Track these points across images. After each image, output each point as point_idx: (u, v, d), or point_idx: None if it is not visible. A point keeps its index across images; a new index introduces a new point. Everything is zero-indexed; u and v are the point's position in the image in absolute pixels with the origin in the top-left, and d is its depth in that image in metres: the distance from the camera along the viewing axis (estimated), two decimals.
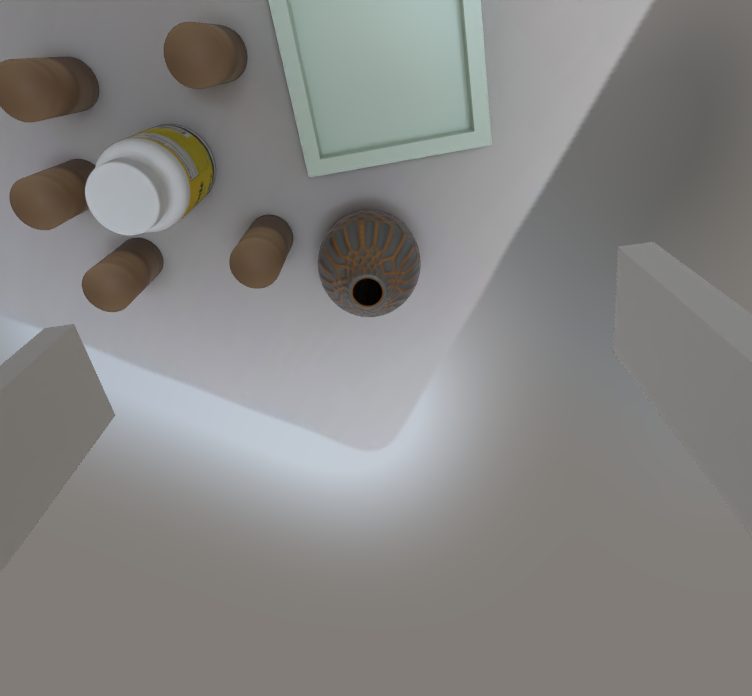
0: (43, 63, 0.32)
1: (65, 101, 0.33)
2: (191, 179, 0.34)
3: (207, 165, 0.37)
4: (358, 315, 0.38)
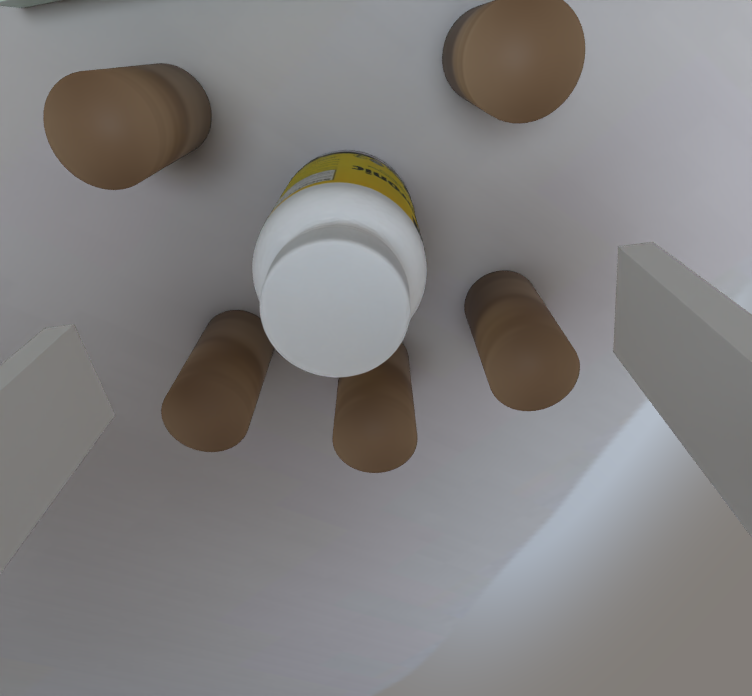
0: None
1: (229, 361, 0.22)
2: (332, 178, 0.17)
3: (334, 158, 0.20)
4: None
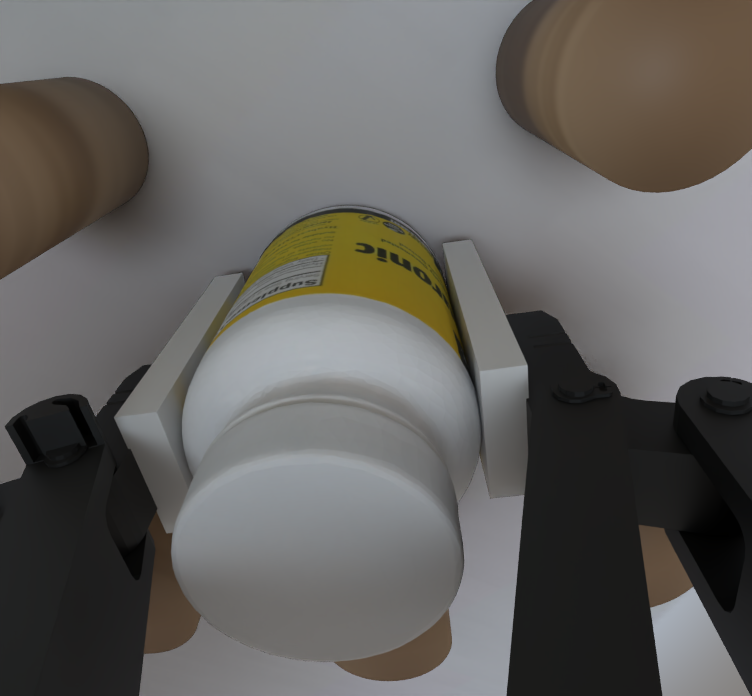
0: None
1: None
2: (319, 281, 0.10)
3: (329, 223, 0.13)
4: None
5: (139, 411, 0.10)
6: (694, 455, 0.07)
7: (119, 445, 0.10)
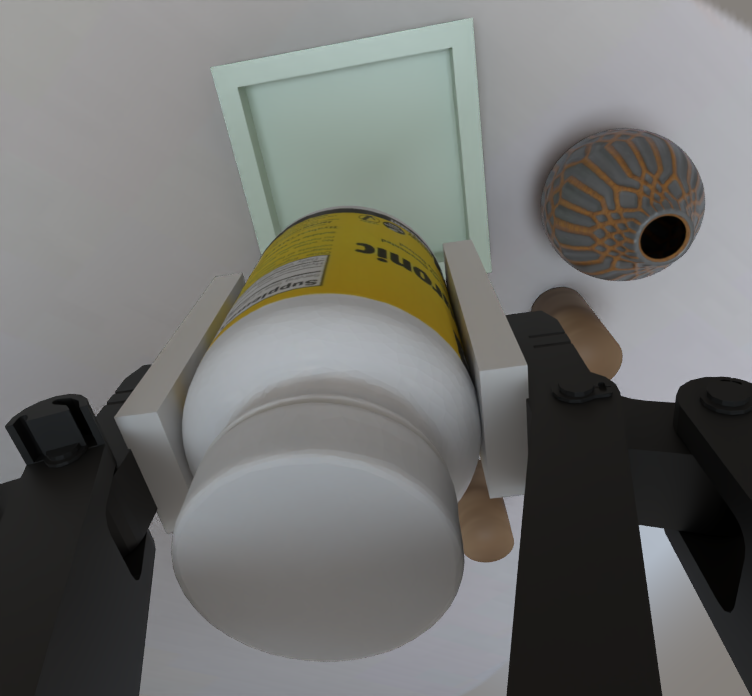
0: None
1: None
2: (319, 281, 0.10)
3: (330, 223, 0.13)
4: (695, 236, 0.25)
5: (139, 411, 0.10)
6: (694, 455, 0.07)
7: (119, 445, 0.10)
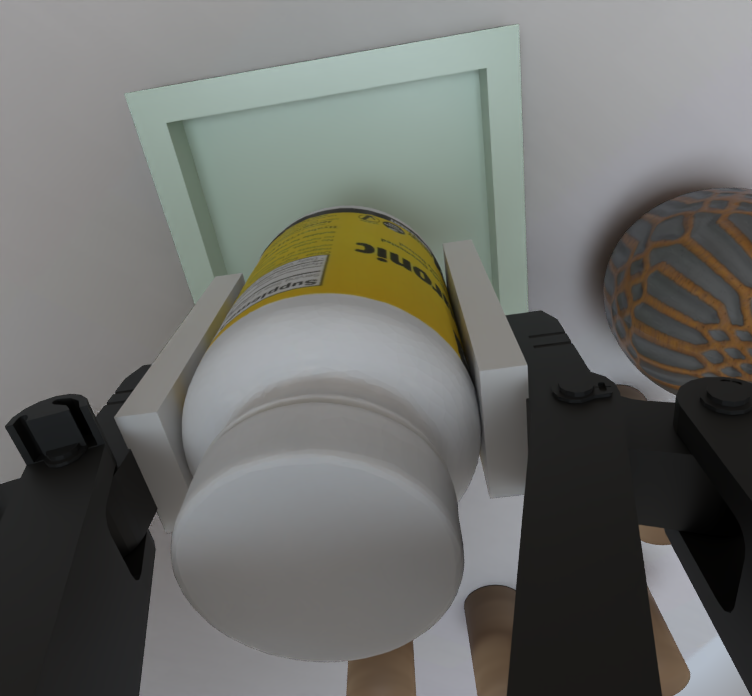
0: (352, 663, 0.27)
1: (396, 651, 0.26)
2: (319, 281, 0.10)
3: (329, 222, 0.13)
4: None
5: (139, 411, 0.10)
6: (694, 455, 0.07)
7: (119, 445, 0.10)
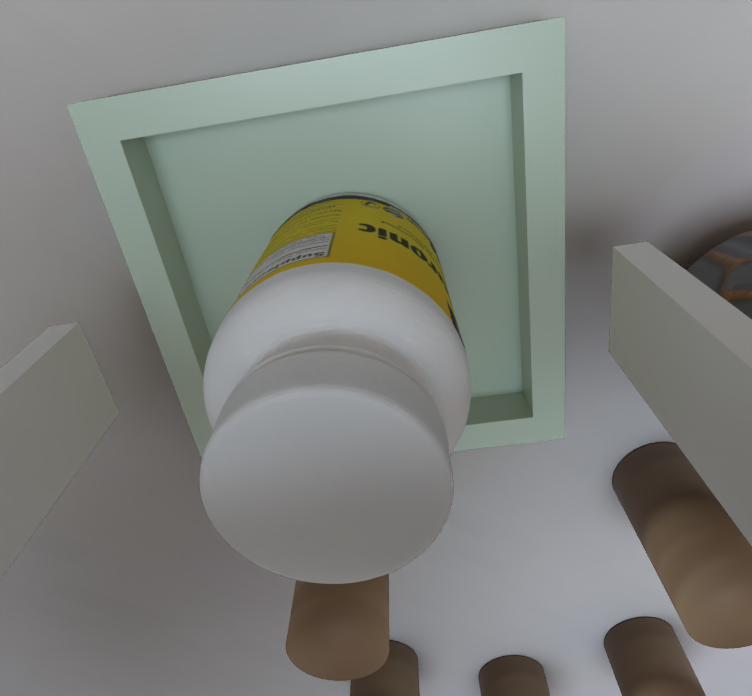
0: None
1: None
2: (326, 253, 0.11)
3: (334, 207, 0.14)
4: None
5: None
6: None
7: None
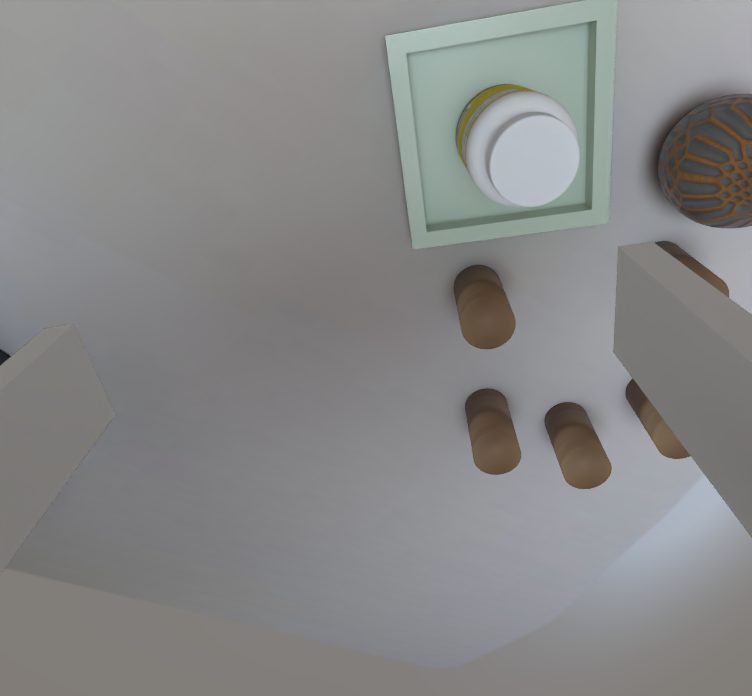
0: (476, 433, 0.39)
1: (506, 425, 0.39)
2: (521, 90, 0.27)
3: (505, 85, 0.31)
4: None
5: None
6: None
7: None
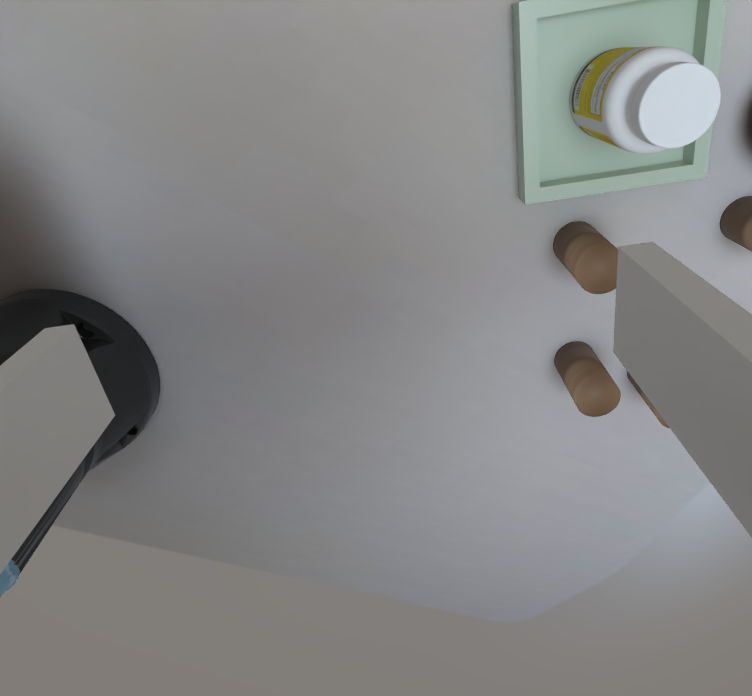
0: (576, 378, 0.42)
1: (603, 370, 0.42)
2: None
3: (626, 47, 0.34)
4: None
5: None
6: None
7: None
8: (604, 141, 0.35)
